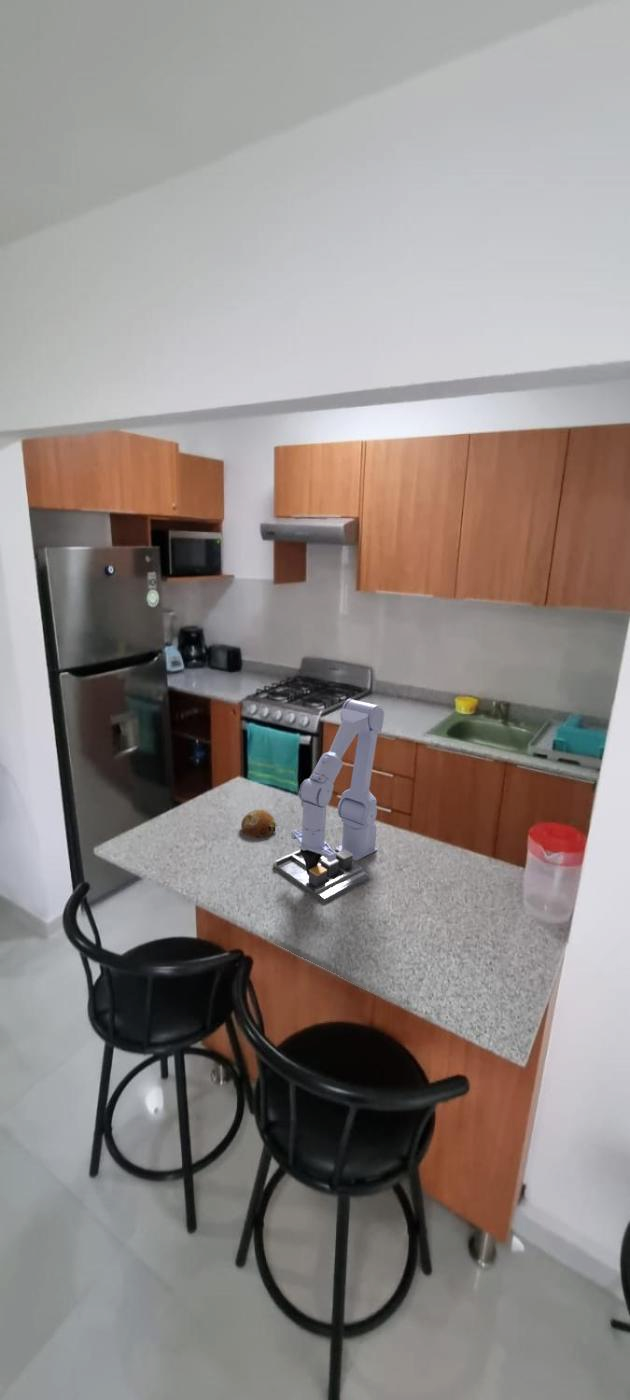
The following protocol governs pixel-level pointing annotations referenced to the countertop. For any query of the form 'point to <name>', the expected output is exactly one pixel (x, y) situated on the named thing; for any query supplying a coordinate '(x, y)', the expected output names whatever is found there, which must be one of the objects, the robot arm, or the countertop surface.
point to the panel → (335, 884)
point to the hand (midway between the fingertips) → (311, 874)
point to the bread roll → (258, 824)
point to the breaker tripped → (317, 876)
